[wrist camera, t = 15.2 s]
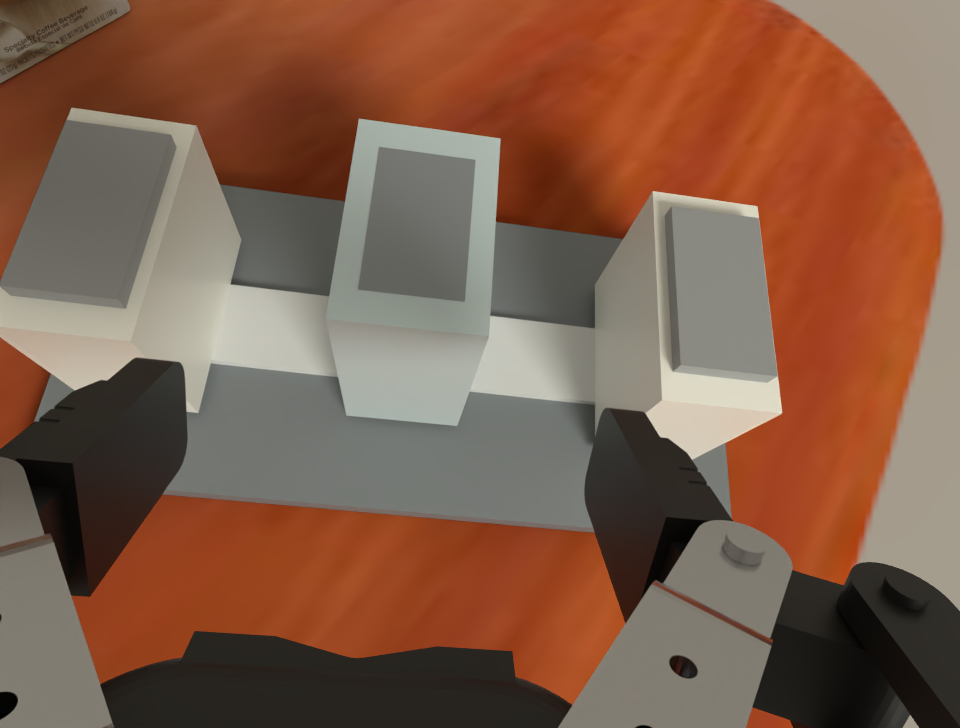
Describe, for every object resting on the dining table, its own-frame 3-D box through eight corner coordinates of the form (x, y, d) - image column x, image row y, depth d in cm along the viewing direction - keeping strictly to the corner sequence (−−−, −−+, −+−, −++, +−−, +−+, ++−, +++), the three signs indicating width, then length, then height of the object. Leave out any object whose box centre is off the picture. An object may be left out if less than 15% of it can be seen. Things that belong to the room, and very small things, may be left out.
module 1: (91, 402, 24) (-30, 315, 17) (146, 227, 27) (62, 93, 20) (198, 413, 25) (122, 332, 18) (241, 239, 28) (191, 112, 21)
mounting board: (31, 482, 24) (8, 474, 23) (131, 187, 30) (118, 165, 28) (719, 543, 27) (738, 539, 26) (698, 263, 32) (713, 246, 31)
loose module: (346, 415, 25) (325, 318, 17) (368, 265, 28) (358, 118, 20) (457, 426, 26) (488, 336, 18) (468, 277, 28) (500, 138, 20)
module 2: (595, 453, 26) (670, 393, 19) (594, 284, 29) (659, 180, 22) (687, 462, 27) (793, 407, 20) (677, 295, 30) (766, 196, 23)
